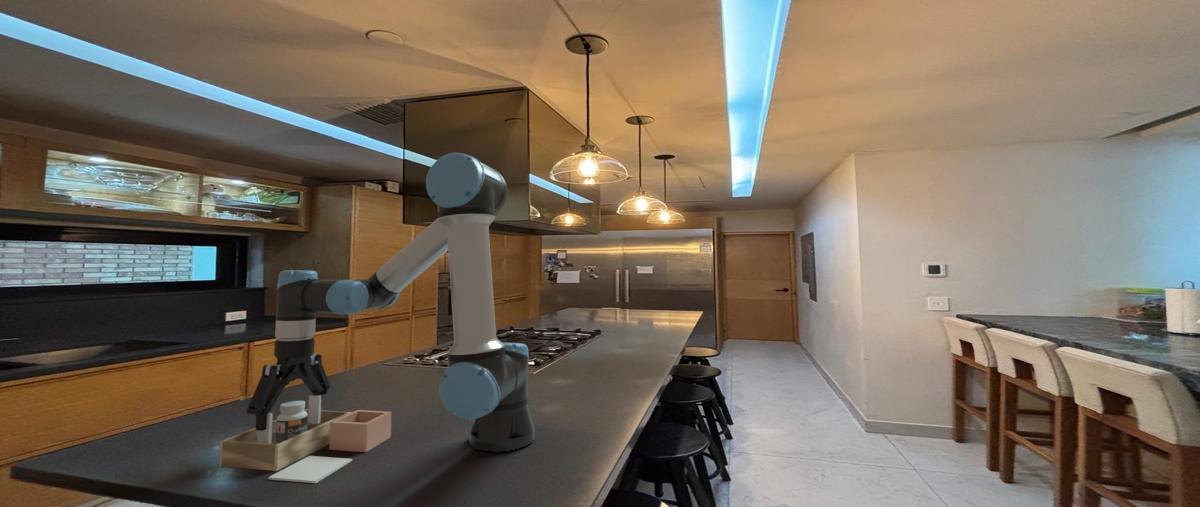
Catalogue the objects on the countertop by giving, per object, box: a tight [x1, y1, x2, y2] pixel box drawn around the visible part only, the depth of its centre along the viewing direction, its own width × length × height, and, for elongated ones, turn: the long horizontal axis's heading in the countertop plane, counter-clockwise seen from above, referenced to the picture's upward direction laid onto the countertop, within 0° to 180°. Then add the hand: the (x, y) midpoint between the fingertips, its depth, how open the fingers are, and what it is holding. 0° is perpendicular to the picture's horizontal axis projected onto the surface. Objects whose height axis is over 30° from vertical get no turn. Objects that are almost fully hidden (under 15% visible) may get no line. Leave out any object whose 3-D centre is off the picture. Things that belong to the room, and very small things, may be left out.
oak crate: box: [218, 408, 352, 472], centre depth 100 cm, size 21×13×5 cm, turn 172°
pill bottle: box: [275, 400, 308, 444], centre depth 100 cm, size 6×6×10 cm
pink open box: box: [328, 409, 393, 453], centre depth 103 cm, size 9×9×6 cm
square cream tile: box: [267, 455, 353, 484], centre depth 89 cm, size 10×10×1 cm
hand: (290, 433), depth 100 cm, fingers open, 13 cm apart
